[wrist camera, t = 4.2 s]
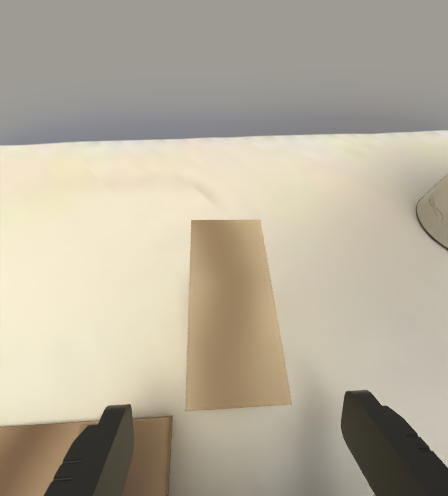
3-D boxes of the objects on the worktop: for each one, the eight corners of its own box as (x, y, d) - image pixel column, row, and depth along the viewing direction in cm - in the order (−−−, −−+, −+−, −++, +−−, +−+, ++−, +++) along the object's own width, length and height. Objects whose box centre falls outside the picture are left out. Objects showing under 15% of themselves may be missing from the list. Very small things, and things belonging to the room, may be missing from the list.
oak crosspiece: (243, 278, 20) (260, 219, 14) (256, 401, 16) (292, 404, 9) (197, 279, 20) (191, 220, 13) (196, 404, 15) (185, 411, 9)
